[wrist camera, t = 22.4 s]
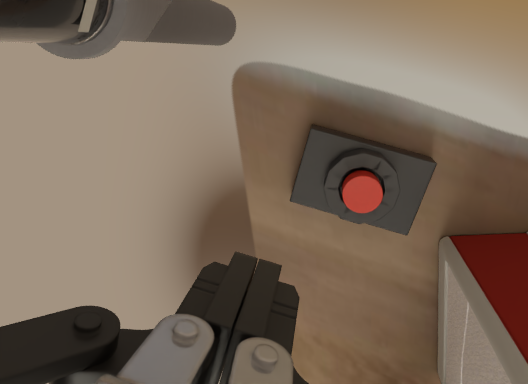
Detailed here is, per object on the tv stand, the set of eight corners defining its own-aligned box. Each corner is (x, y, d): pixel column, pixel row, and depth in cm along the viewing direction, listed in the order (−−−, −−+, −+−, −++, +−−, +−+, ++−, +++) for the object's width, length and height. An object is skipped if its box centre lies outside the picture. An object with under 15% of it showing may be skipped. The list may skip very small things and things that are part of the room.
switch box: (291, 193, 40) (287, 208, 37) (312, 123, 38) (309, 131, 34) (403, 226, 40) (410, 244, 36) (431, 157, 37) (442, 168, 34)
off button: (337, 200, 36) (337, 207, 34) (348, 165, 35) (349, 171, 33) (373, 210, 36) (375, 218, 34) (386, 176, 35) (388, 182, 33)
